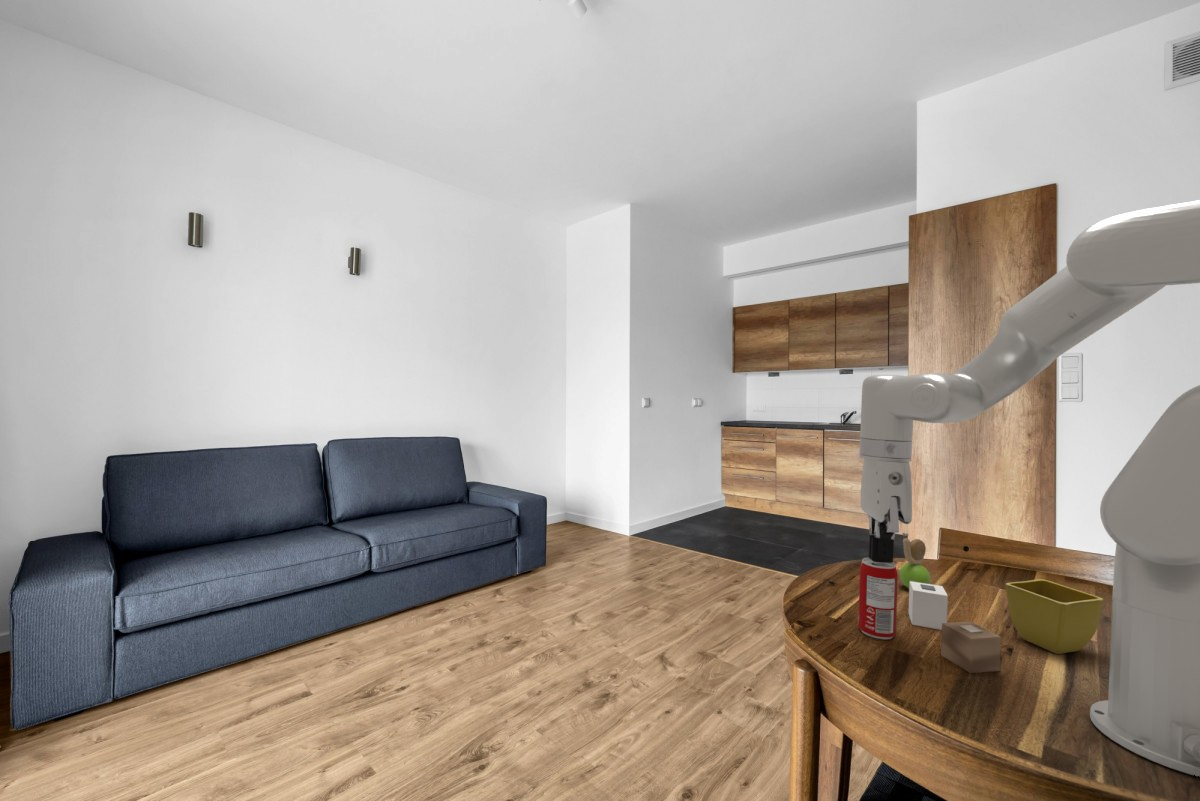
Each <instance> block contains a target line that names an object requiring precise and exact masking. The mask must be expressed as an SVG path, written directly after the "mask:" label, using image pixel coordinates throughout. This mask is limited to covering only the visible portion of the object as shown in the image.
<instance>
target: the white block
mask: <svg viewBox="0 0 1200 801" xmlns="http://www.w3.org/2000/svg"><path fill="white" fill-rule="evenodd" d="M948 598H949V596H948V593H947V592H946V590H945V588H944V587H943V585H936V584H931V583H930V584H925V583H919V582H912V581H910V585H909V588H908V615H909V616H908V618H909V619H910V623H911V625H912V626H913V625H914V626H918V627H924V628H929V629H934V630H940V631H942V623H948Z"/></svg>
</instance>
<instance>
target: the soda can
mask: <svg viewBox="0 0 1200 801" xmlns="http://www.w3.org/2000/svg"><path fill="white" fill-rule="evenodd" d="M898 578H899V576H898V571H897V565H896V563H895V562H894V561H893V562H892V563H883V562H873V561H872V560H871V559H870V558H869V557H863V558H862V560H861V564H860V566H859V584H858V585H859V586H858V587H859V591H858V597H859V598H858V619H857V621H858V622H857V623H858V626H857V628H859V630H860V631H861V633H863V634H864V635H866V636H867V637H870V638H874V639H879V640H891V639H892V638H894V637H895V636H896V635H897V614H898V613H897V612H898V611H897V610H898V609H897V608H898Z"/></svg>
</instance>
